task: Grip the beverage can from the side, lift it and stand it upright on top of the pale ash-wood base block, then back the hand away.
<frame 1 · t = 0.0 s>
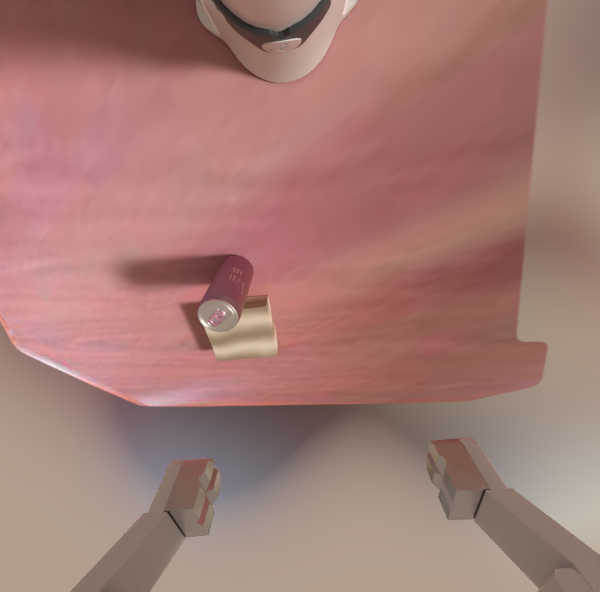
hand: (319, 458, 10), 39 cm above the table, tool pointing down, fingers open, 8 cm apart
beverage can: (238, 268, 49), on the table
ash base block: (243, 323, 55), on the table
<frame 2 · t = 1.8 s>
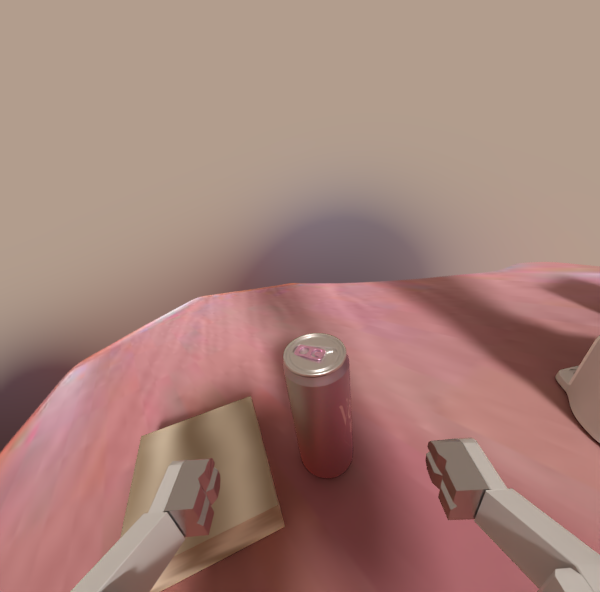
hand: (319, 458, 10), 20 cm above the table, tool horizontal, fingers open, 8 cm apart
beverage can: (326, 454, 30), on the table
ash base block: (210, 486, 28), on the table
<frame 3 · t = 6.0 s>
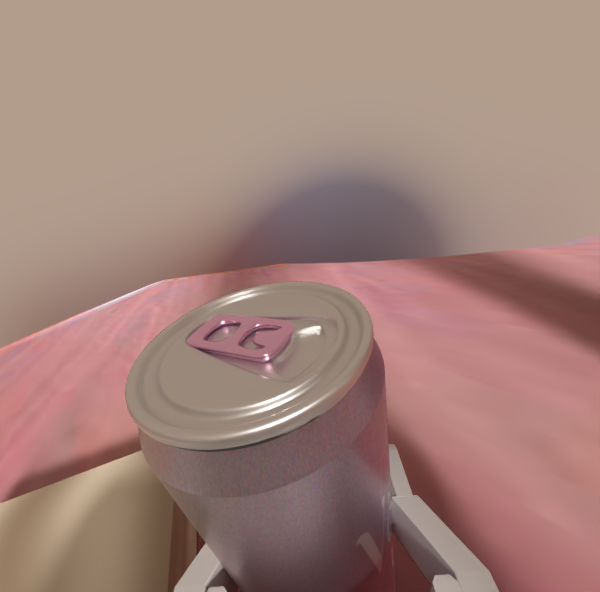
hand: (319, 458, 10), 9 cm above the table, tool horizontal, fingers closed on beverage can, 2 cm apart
beverage can: (332, 582, 13), on the table, touching gripper
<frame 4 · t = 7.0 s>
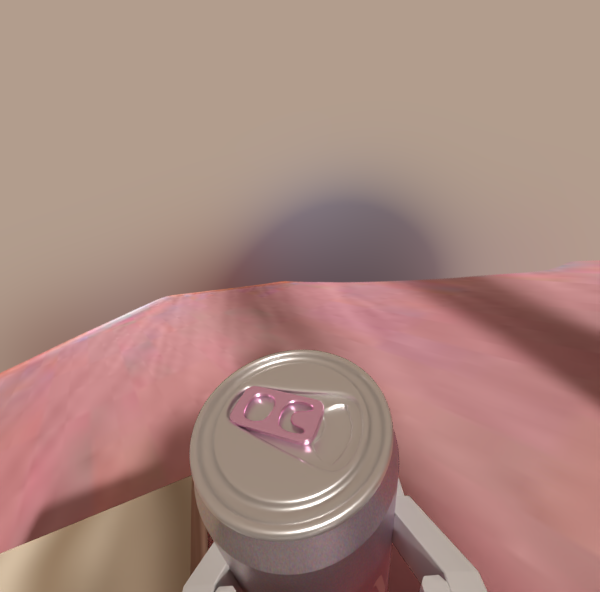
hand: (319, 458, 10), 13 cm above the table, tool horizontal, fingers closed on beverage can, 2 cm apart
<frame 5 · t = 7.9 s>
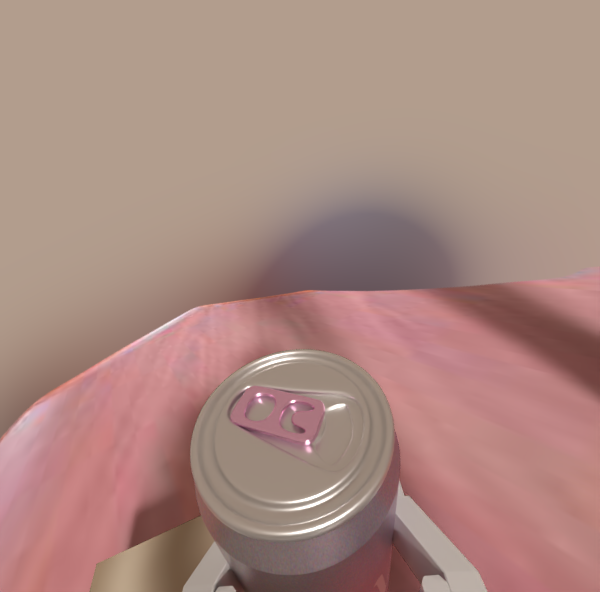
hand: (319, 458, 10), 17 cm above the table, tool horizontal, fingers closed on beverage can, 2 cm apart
when the fingers open (15 cm above the table, at t = 9.0 s): beverage can stays where it is, resting on ash base block.
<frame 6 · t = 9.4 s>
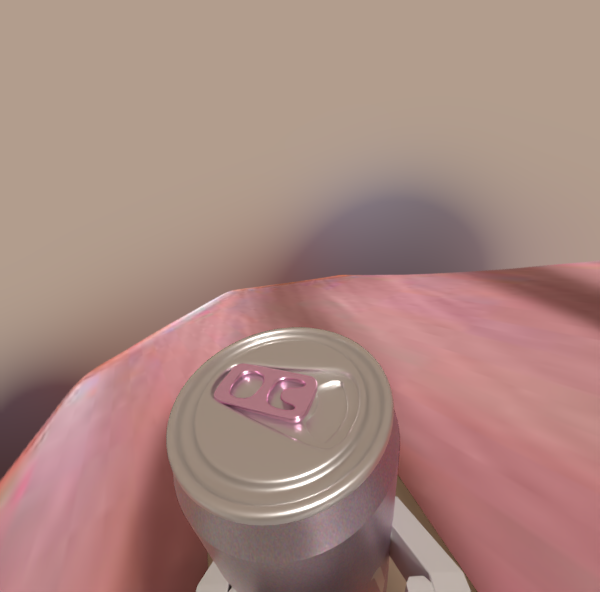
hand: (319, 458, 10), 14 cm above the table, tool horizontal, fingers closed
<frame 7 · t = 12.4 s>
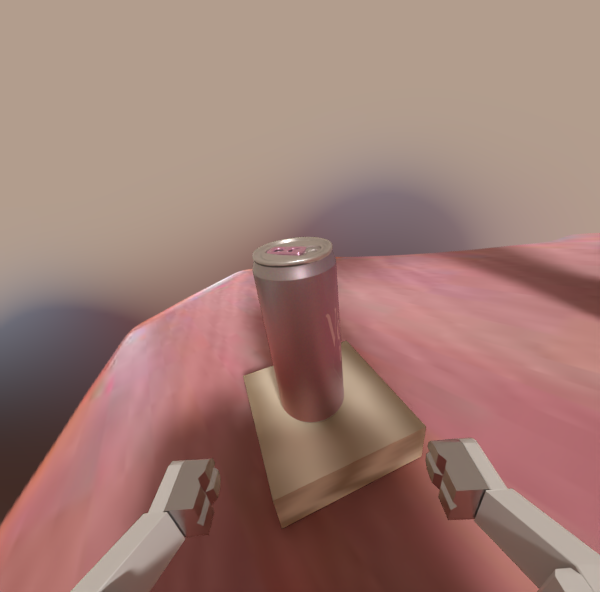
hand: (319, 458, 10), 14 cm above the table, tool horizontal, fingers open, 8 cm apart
beverage can: (313, 400, 25), point 4 cm above the table, touching ash base block
ash base block: (323, 424, 27), on the table
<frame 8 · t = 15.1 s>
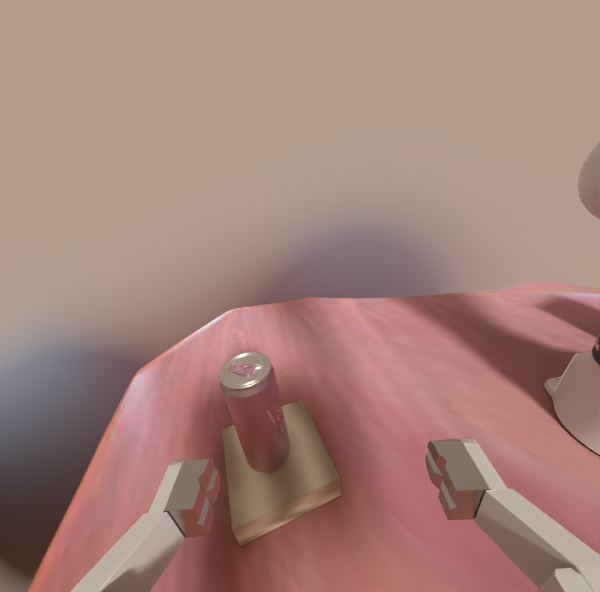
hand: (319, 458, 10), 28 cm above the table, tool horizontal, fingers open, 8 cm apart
beverage can: (269, 452, 35), point 4 cm above the table, touching ash base block
ash base block: (278, 467, 37), on the table
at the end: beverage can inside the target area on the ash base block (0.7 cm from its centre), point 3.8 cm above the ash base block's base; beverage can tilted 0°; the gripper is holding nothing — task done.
